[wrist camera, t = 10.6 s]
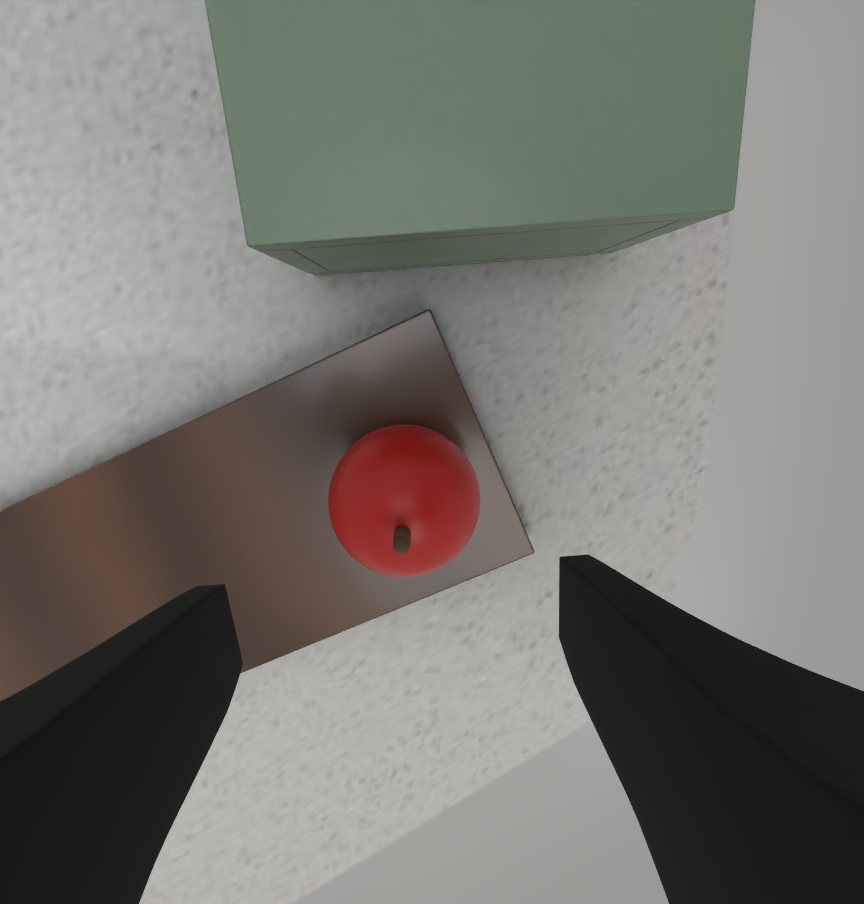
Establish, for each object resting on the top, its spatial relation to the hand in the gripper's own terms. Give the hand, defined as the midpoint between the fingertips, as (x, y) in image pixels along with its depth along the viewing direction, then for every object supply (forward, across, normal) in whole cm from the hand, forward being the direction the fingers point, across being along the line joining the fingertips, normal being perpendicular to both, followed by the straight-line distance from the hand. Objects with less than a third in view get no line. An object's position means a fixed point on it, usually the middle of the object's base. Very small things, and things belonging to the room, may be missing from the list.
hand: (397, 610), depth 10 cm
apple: (+9, 0, 0) cm, 9 cm away
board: (+10, +16, +6) cm, 20 cm away
